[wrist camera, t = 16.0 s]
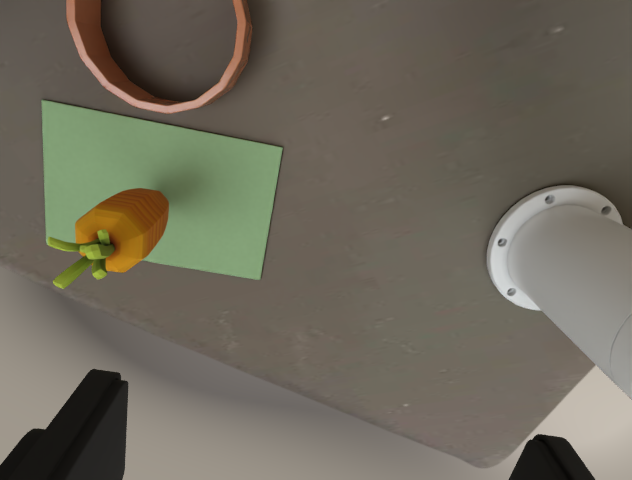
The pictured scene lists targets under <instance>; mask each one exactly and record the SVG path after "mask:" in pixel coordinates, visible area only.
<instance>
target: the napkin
mask: <svg viewBox="0 0 632 480" xmlns="http://www.w3.org/2000/svg"><path fill="white" fill-rule="evenodd" d="M42 126H43V158H44V190H45V223H46V244H47V245H48V241H47V240H48V237H52V238H55V239H59V240H61V241H64V242H70V243H76V240H75V223H76V221H77V220H78V219H79V218H81V217H82V216H83V215H85V214H86V213H87V212H88V211H90V210H91V209H92V208H94V207H95V206H96V205H98V204H99V203H100V202H102V201H104V200H106V199H108V198H109V197H111V196H113V195H115V194H117V193H120V192H122V191H124V190H129V189H135V188H145V189H151V190H157V191H161V193H162V194H163V195H164V196H165V197H166V198H167V200H168V201H169V214H168V222H167V226H166V229H165V231H164V234H163V236H162V237H161V239H160V240H159V242H158V243H157V245H156V246H155V247H154V249H153V250H152V251H151V252H150V254H149V255H148V256H147V257H145V258H144V259H143V261H149V262H155V263H161V264H166V265H172V266H178V267H184V268H190V269H196V270H202V271H208V272H214V273H220V274H226V275H232V276H238V277H244V278H250V279H256V280H260V278H261V272H262V266H263V261H264V255H265V249H266V243H267V237H268V231H269V226H270V220H271V214H272V208H273V202H274V196H275V190H276V185H277V179H278V173H279V167H280V161H281V155H282V150H283V147H279V146H274V145H269V144H264V143H259V142H254V141H249V140H244V139H239V138H234V137H229V136H224V135H219V134H214V133H209V132H204V131H199V130H194V129H189V128H183V127H178V126H173V125H168V124H163V123H158V122H153V121H148V120H143V119H138V118H133V117H128V116H123V115H118V114H113V113H108V112H103V111H98V110H93V109H88V108H83V107H78V106H73V105H68V104H63V103H58V102H53V101H47V100H42Z"/></svg>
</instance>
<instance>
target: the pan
mask: <svg viewBox="0 0 632 480" xmlns="http://www.w3.org/2000/svg"><path fill="white" fill-rule="evenodd" d="M233 4H234V8H235V13H236V17H237V21H238V24H237V32H236V40H235V49H234V56H233V57H232V59H231V61H230V63H229V65H228V67H227V68H226V70H225V72H224V74H223V76H222V77H221V79H220V81H219V82H218V83H217V84H216V85H214V86H213V87H212V88H210V89H209V90H208V91H206V92H205V93H204V94H202V95H201V96H200V97H198V98H197V99H195V100H191V101H186V102H177V101H172V100H167V99H162V98H157V97H154V96H152V95H151V94H149V93H147V92H146V91H144V90H143V89H141V88H140V87H138V86H137V85H135V84H133V83H132V82H130V81H129V79H128V78H127V77H126V76H125V74H124V73H123V72H122V70H121V69H120V68H119V67H118V65H117V64H116V63H115V61H114V60H113V59H112V58H111V55H110V53H109V50H108V47H107V44H106V41H105V38H104V35H103V32H102V29H101V0H66V6H67V23H68V26H69V29H70V32H71V34H72V37H73V40H74V42H75V45H76V48H77V50H78V53H79V56H80V58H81V60H82V61H83V62H84V63H85V65H86V66H87V67H88V68H89V69H90V71H91V72H92V73H93V74H94V76H95V77H96V78H97V79H98V81H99V82H100V83H101V84H102V86H103V87H104V88H105V89H107V90H108V91H110V92H111V93H113V94H115V95H116V96H118V97H119V98H121V99H122V100H124V101H126V102H127V103H129V104H130V105H132V106H134V107H136V108H140V109H145V110H150V111H155V112H160V113H165V114H171V113H176V112H181V111H186V110H190V109H195V108H199V107H203V106H206V105H209V104H211V103H213V102H214V101H215V100H217V99H218V98H219V97H221V96H222V95H223V94H225V93H226V92H227V91H229V90H230V89H231V88H233V86H234V85H235V83H236V82H237V80H238V78H239V76H240V74H241V73H242V71H243V69H244V67H245V66H246V64H247V62H248V59H249V52H250V45H251V37H252V30H253V29H252V22H251V18H250V13H249V9H248V4H247V0H233Z"/></svg>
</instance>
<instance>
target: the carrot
mask: <svg viewBox="0 0 632 480" xmlns="http://www.w3.org/2000/svg"><path fill="white" fill-rule="evenodd" d="M168 214H169V201H168V200H167V198H166V197H165V196H164V195H163V194H162V193H161V191H157V190H151V189H145V188H135V189H129V190H124V191H122V192H120V193H117V194H115V195H113V196H111V197H109V198H108V199H106V200H104V201H102V202H100V203H99V204H98V205H96V206H95V207H94V208H92V209H91V210H90V211H88V212H87V213H86V214H85V215H83V216H82V217H81V218H79V219H78V220H77V221H76V223H75V240H76V243H70V242H64V241H61V240H59V239H55V238H52V237H48V240H47V241H48V245H49V246H51V247H54V248H56V249H60V250H63V251H78V252H79V253H80V254H81V255H82V256H83V258H81V259H80V260H79V261H77V262H76V263H74V264H73V265H72V266H70V267H69V268H67V269H66V270H65V271H64V272H62V273H61V274H60V275H59V276H57V277H56V278H55V279H54V280H53V284H55V285H56V286H57V287H59V288H65V287H67V286H68V285H69V284H70V283H72V282H73V281H74V280H75V279H76V278H77V277H78V276H79V275H80V274H81V273H82V272H83V271H84V270H86V269H87V268H88V267H89V266H90V265H92V275H93V276H94V277H95V278H97V279H101V278H103V277H105V276H106V275H107V271H114V272H120V273H123V272H126V271H127V270H129V269H130V268H131V267H133V266H134V265H136V264H137V263H138V262H140V261H141V260H143V259H144V258H145V257H147V256H148V255H149V254H150V252H151V251H152V250H153V249H154V247H155V246H156V245H157V243H158V242H159V240H160V239H161V237H162V236H163V234H164V231H165V229H166V226H167V222H168Z"/></svg>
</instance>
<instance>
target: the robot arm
mask: <svg viewBox="0 0 632 480" xmlns="http://www.w3.org/2000/svg"><path fill="white" fill-rule="evenodd" d="M546 197H547V198H546ZM545 198H546V199H545ZM499 240H500V241H499ZM487 268H488V273H489V275H490V278H491V280H492V282H493V284H494V285H495V286H496V288H497V289H498V290H499V291H500V293H501V294H502V295H503V296H504V297H505V298H506V299H508V300H510V301H511V302H513V303H514V304H516V305H519V306H521V307H524V308H527V309H533V310H542V311H543V312H544V313H545V314H546V315H547V316H548V317H549V318H550V319H551V320H552V321H553V322H554V323H555V324H556V325H557V326H558V327H559V328H560V329H561V330H562V331H563V332H564V333H565V334H566V335H567V336H568V337H569V338H570V339H571V340H572V341H573V342H574V343H575V344H576V345H577V346H578V347H579V348H580V349H581V350H582V351H583V352H584V353H585V354H586V355H587V356H588V357H589V358H590V359H591V360H592V361H593V362H594V363H595V364H596V365H597V366H598V367H599V368H600V369H601V370H602V371H603V372H604V373H605V374H606V375H607V376H608V377H609V378H610V379H611V380H612V381H613V382H614V383H615V384H616V385H617V386H618V387H619V388H620V389H621V390H622V391H623V392H624V393H625V394H626V395H627V396H628V397H629V398H630V399H631V400H632V229H631V228H629V227H626V226H624V225H623V222H622V219H621V216H620V214H619V212H618V211H617V209H616V207H615V206H614V205H613V204H612V203H611V202H610V201H609V200H608V199H607V198H606V197H604V196H602V195H600V194H599V193H597V192H595V191H592V190H590V189H587V188H584V187H579V186H574V185H559V186H554V187H548V188H545V189H542V190H539V191H536V192H534V193H532V194H530V195H528V196H527V197H525V198H523V199H521V200H520V201H519V202H518V203H516V204H515V205H514V206H512V207H511V208H510V209H509V210H508V211H507V212H506V214H505V215H504V216H503V217H502V218H501V219H500V221H499V223H498V224H497V226H496V227H495V229H494V231H493V233H492V235H491V238H490V240H489V244H488V249H487ZM127 403H128V382H127V381H123V380H121V375H120V373H117V372H110V371H103V370H96V369H92V370H91V371H90V372H89V373H88V374H87V375H86V376H85V378H84V379H83V380H82V382H81V383H80V384H79V386H78V387H77V388H76V390H75V391H74V392H73V394H72V395H71V396H70V398H69V399H68V400H67V402H66V403H65V404H64V406H63V407H62V408H61V410H60V411H59V412H58V414H57V415H56V416H55V418H54V419H53V420H52V422H51V423H50V424H49V426H48V427H47V428H46V430H44V429H32V430H31V431H29V432H28V433H27V434H26V435H25V436H24V437H23V438H22V439H21V440H20V441H19V443H18V444H17V445H16V447H15V448H14V449H13V451H11V453H10V454H9V455H8V457H7V458H6V459H5V460H4V461H3V463H2V464H1V465H0V480H122V478H123V475H124V470H125V449H126V427H127V426H126V425H127ZM509 480H595V479H594V477H593V476H592V474H591V473H590V471H589V470H588V469H587V467H586V466H585V464H584V463H583V462H582V460H581V459H580V457H579V456H578V454H577V453H576V452H575V450H574V449H573V448H572V446H571V445H570V443H569V442H568V441H567V440H566V439H564V438H562V437H555V436H548V435H542V434H540V435H539V434H538V435H536V436H535V437H534V438H533V439H532V440H529V441H528V442H527V444H526V445H525V448H524V450H523V452H522V454H521V456H520V458H519V460H518V462H517V464H516V466H515V468H514V470H513V472H512V474H511V476H510V478H509Z"/></svg>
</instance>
